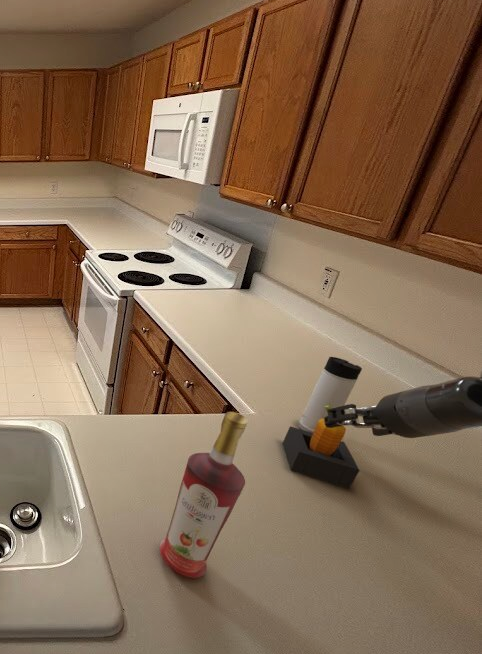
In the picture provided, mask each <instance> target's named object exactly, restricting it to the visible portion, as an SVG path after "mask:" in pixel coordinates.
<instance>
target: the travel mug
mask: <svg viewBox="0 0 482 654" xmlns="http://www.w3.org/2000/svg"><path fill="white" fill-rule="evenodd" d="M362 371H363V368H362V366H359V365H358V364H353V363H352V362H349V361H348V360H346V359H343V358H340V357H335V356H329V357H328V359H327V361H326V363H325V366H324V367H323V370H322V371H321V374H320V376H319V378H318V380H317V382H316V385H315V386H314V389H313V391H312V393H311V395H310V397H309V400H308V402H307V404H306V406H305V409H304V411H303V413H302V415H301V416H300V417H301V418H300V420H299V421H298V423H297V424H298V427H299V429H301V430H305V431H308V432H311V433H313V432H314V430H315V428H316V425H317V423H318V421H319V420H320V419H322V418H324V417H326V416H328V414H327V410H326V408H325V406H329V407H330V408H334V407H340V406H344V405H346V403H347V401H348V399H349V397H350V395H351V392H352V391H353V389H354V387H355V386H356V383H357V380H358V379H359V376H360V374H361V372H362Z"/></svg>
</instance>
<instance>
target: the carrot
mask: <svg viewBox="0 0 482 654" xmlns="http://www.w3.org/2000/svg"><path fill="white" fill-rule="evenodd" d="M325 408H326V410H327V409H331V408H330V407H329V406H325ZM334 408H336V407H334ZM327 414H328V411H327ZM346 431H347V428H346V427H345V425H343V426H338V427H334V428H328V427H326V426H325V423H324V418H322V419H320V420H319V421H318V423H317V425H316V428H315V430H314V432H313V435H312V438H311V441H310V446H309V450H311V451H314V452H317V453H321V454H324V455H327V456H331V455H332V453H333V452H334V451H335V450H336V448H337V447H338V445H339V444H340V442H341V441H343V438H344V437H345V434H346Z"/></svg>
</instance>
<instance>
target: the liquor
mask: <svg viewBox="0 0 482 654" xmlns="http://www.w3.org/2000/svg"><path fill="white" fill-rule="evenodd" d="M248 422H249V420H248V418H246V417H245V416H244V415H243V414H241V413H238V412H235V411H226V412H225V414H224V416H223V418H222V422H221V425H220V433H219V434H218V436H217V439H216V440H215V442H214V444H213V446H212V448H211V449H210V451H209V452H196V453H193V454H191V455H190V456H189V457H188V458H187V463H186V465H185V469H184V473H183V477H182V480H181V483H180V486H179V491H178V495H177V499H176V501H175V502H176V503H175V506H174V510H173V513H172V517H171V521H170V523H169V526H168V530H167V533H166V536H165V538H164V539H162V541H161V542H160V544H159V552H160V556H161V557H162V559H163V561H164V562H165V563H166V565H168V566H169V567H170V568H171V569H172V571H174V572H176V573H178V574H180V575H182V576H184V577H188V578H200V577H202V576H204V575H205V574H206V572H207V567H208V565H207V560H208V559H209V556H210V554H211V552H212V549H213V548H214V546H215V544H216V542H217V541H218V537H219V535H220V533H221V532H222V530H223V528H224V526H225V525H226V522H227V521H228V519H229V517H230V516H231V513H232V511H233V509H234V507H235V505H236V503H237V502H238V499H239V497H240V495H241V494H242V492H243V490H244V488H245V485H246V479H245V476H244V474H243V473H242V472H241V470H240V469H239V468H238V467H237V466H236V465H235V464H234V458H235V455H236V451H237V447H238V445H239V441H240V439H241V437H242V435H243V434H244V432H245V430H246V427H247V425H248Z"/></svg>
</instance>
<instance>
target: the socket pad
mask: <svg viewBox="0 0 482 654" xmlns="http://www.w3.org/2000/svg"><path fill="white" fill-rule="evenodd" d="M312 435H313V433H311V432H308V431H305V430H302V429H301V428H297V427H294V426H291V425H290V426H289V427H288V430H287V432H286V435H285V436H284V439H283V441H282V447H283V450H284V453H285V457H286V459H287V463H288V466H289V469H290V471H292V472H295V473H299V474H302V475H305V476H308V477H311V478H314V479H317V480H321V481H324V482H327V483H329V484H333V485H336V486H339V487H342V488H345V489H348V490H350V489H351V487H352V485H353V483H354V481H355V479H356V478H357V476H358V474H359V473H360V468H359V467H358V465H357V463H356V461H355V459H354V457H353V455H352V454H351V451H350V450H349V448H348V446H347V444H346V443H345V441H343V440H341V442H340V444H339V445H338V447H337V448H336V450H335V451H334V452H333V453H332V455H331V456H327V455H324V454H321V453H317V452H314V451H311V450H309V446H310V441H311V438H312Z"/></svg>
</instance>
